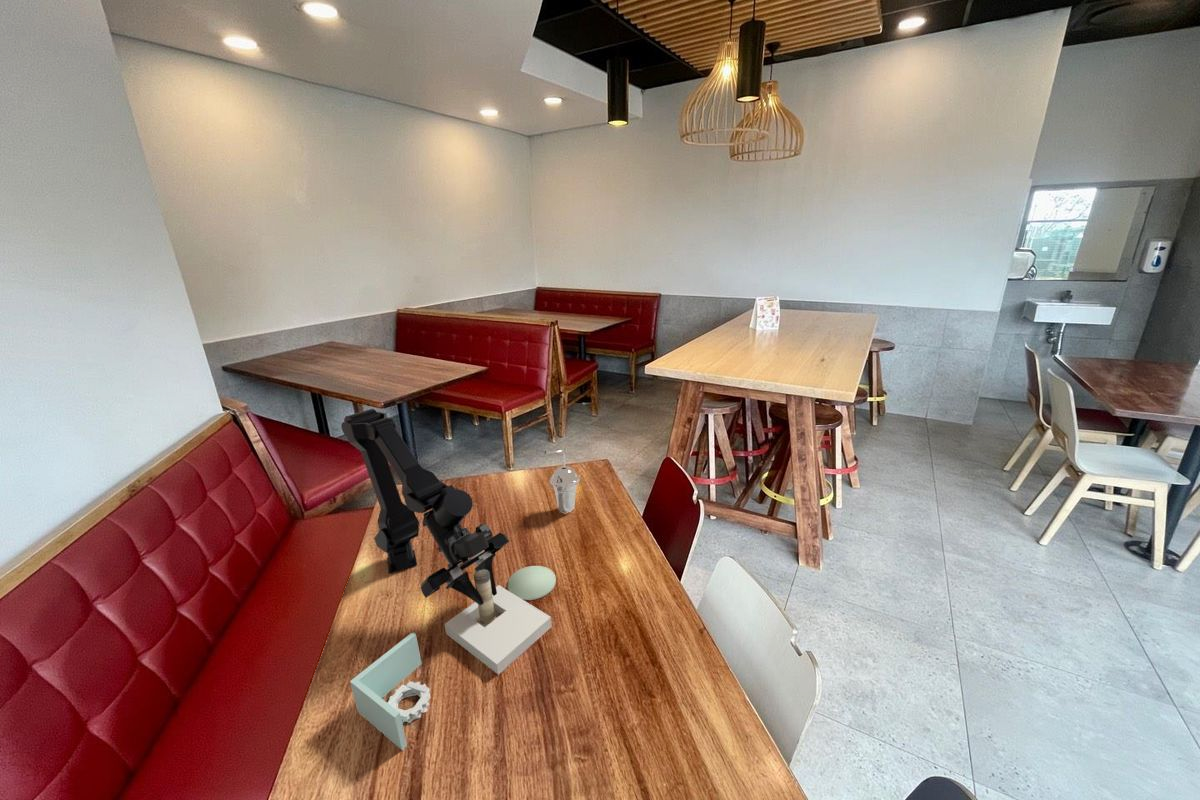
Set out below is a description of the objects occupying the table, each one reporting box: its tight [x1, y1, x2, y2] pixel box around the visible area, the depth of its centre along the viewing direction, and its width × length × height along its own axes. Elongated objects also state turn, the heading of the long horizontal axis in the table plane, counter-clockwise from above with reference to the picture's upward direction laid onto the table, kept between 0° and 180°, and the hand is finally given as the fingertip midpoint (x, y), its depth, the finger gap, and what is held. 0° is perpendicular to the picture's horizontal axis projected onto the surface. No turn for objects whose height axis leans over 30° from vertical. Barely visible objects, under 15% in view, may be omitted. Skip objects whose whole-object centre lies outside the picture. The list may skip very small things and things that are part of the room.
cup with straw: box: [544, 449, 580, 513], centre depth 135 cm, size 8×9×20 cm
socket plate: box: [444, 584, 553, 676], centre depth 95 cm, size 16×14×2 cm
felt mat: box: [507, 565, 557, 601], centre depth 109 cm, size 11×11×1 cm
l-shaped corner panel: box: [349, 632, 432, 751], centre depth 80 cm, size 12×12×8 cm
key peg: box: [473, 569, 499, 627], centre depth 96 cm, size 4×4×12 cm
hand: (489, 599), depth 95 cm, fingers closed on key peg, 3 cm apart
